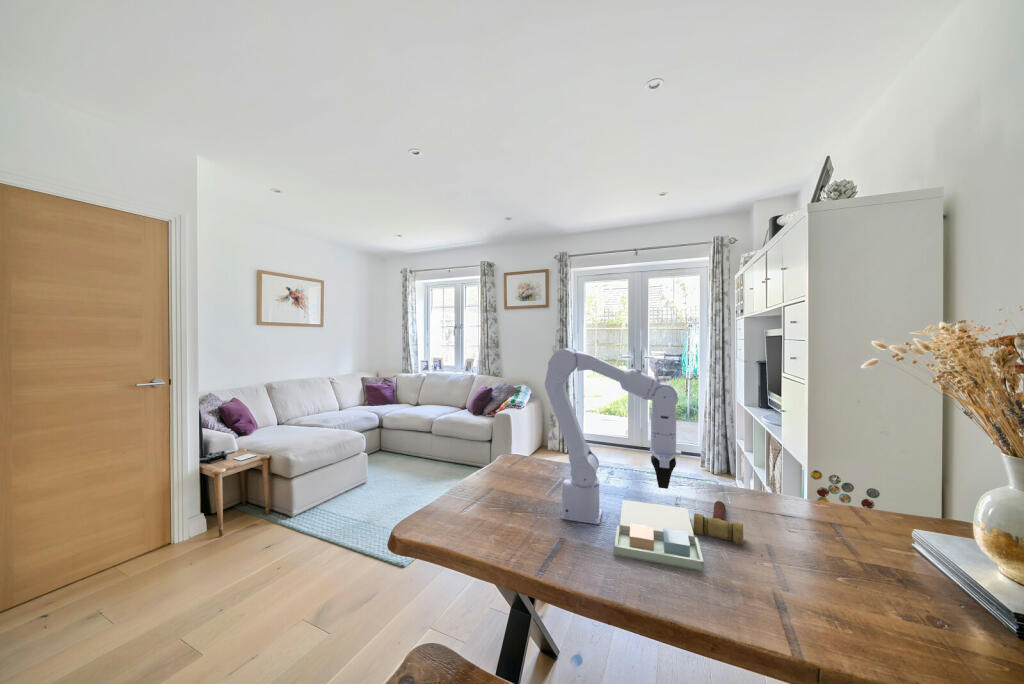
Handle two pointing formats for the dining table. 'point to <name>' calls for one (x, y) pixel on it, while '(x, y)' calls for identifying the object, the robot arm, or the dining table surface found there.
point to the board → (655, 517)
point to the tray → (658, 552)
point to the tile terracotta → (641, 537)
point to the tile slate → (676, 542)
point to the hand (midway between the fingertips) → (663, 487)
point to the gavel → (718, 525)
